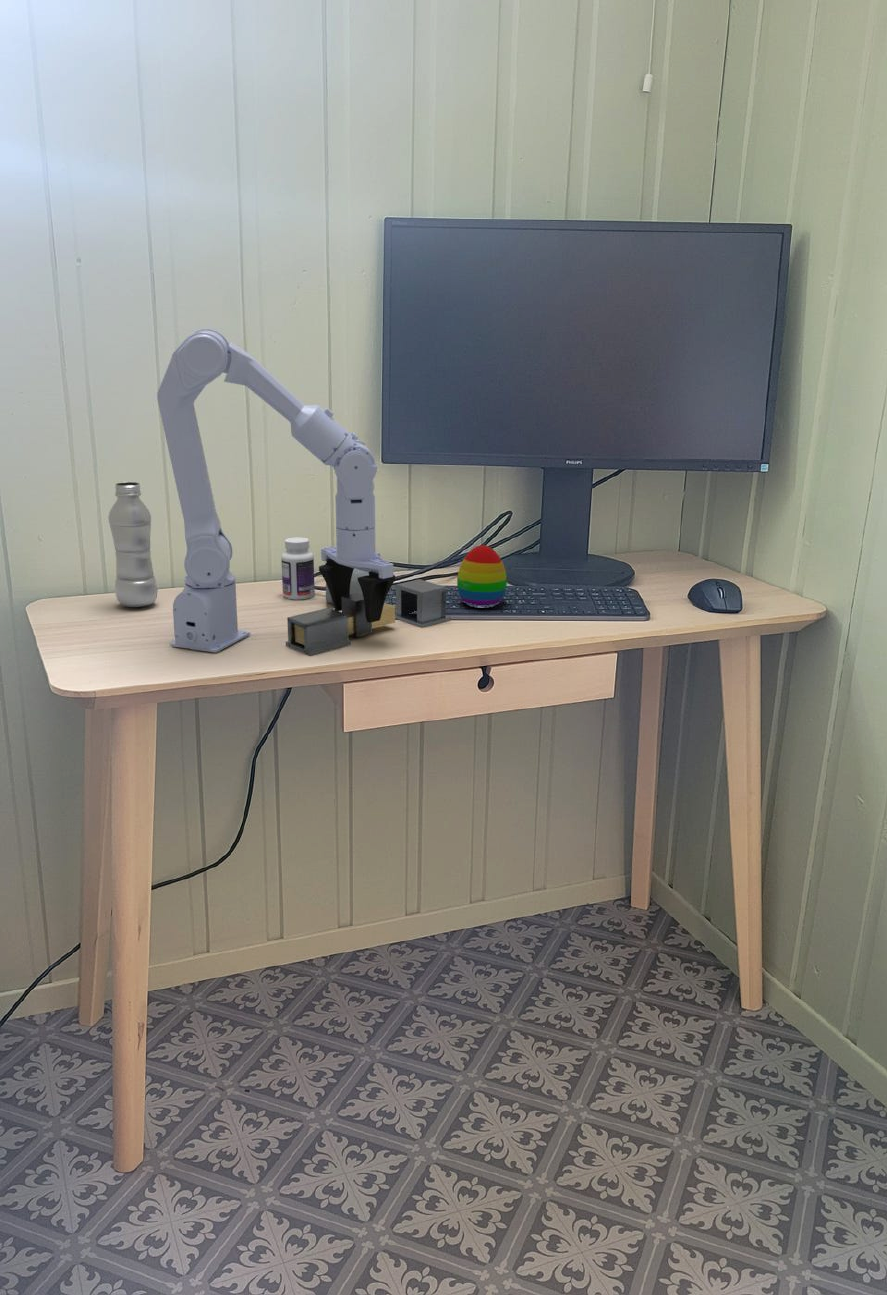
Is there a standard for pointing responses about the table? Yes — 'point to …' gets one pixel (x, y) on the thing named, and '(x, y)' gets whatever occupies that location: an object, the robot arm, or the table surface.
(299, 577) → the pill bottle
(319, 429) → the robot arm
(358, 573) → the ceramic mug
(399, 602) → the grey square bracket
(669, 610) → the table surface
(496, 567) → the decorative egg
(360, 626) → the two-tone block
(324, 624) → the steel sleeve
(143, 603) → the plastic bottle
